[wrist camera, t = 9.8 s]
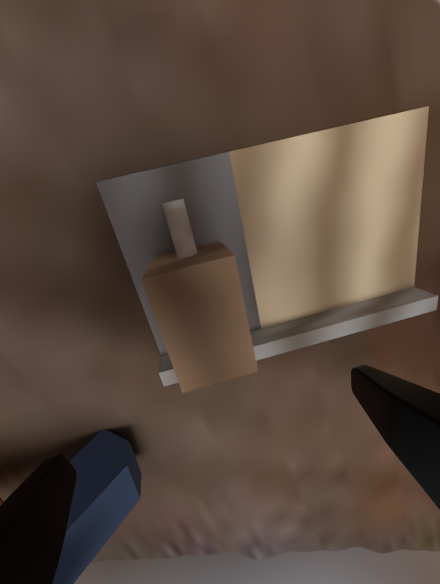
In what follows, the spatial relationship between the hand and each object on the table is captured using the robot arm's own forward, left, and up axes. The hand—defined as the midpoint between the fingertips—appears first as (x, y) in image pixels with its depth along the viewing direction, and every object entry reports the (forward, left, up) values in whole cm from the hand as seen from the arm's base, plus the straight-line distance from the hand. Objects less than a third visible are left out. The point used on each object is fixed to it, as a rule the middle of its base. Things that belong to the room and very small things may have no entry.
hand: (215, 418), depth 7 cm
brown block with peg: (0, -1, -10) cm, 11 cm away
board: (-7, -1, -12) cm, 14 cm away
